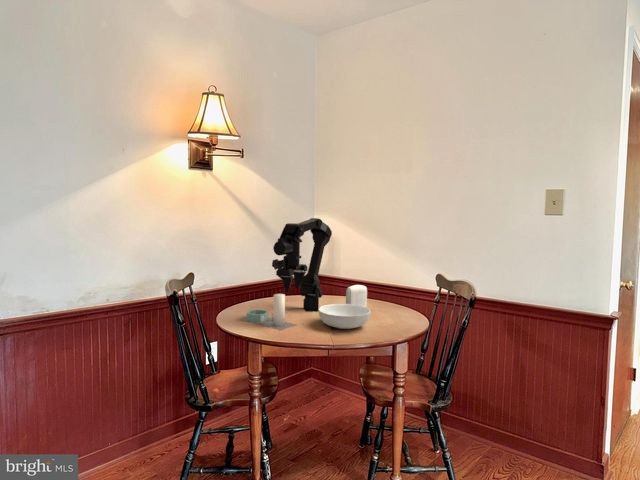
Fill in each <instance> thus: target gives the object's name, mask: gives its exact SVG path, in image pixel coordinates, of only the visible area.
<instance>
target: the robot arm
mask: <svg viewBox="0 0 640 480" xmlns="http://www.w3.org/2000/svg"><path fill="white" fill-rule="evenodd" d="M308 231H310V233H311V234H312V237H311V239H312V241H313V249H312V253H311V257H310V262H309V264H308V265H307V264H305V263H304V264H303V263H300V259H302V255H301V253H300V251H301V250H300V248H301V247H300V246H301V243H303V239H301V237H303V236H304V235H305V233H306V232H308ZM332 232H333V231H332V230H331V227H330V226H329V225H327V224H326V223H325V222H323V220H322V219H320V218H319V217H311V218H309V219H307V220H304V221H301V222H298V223H293V222H292V223H290V222H289V223H286V224H285V225H284V227H283V230H282V231H281V233H280V236H279V238H277V241H276V242H275V243H274V245H273V247H272V249H273V252H274V254H275V255H277V256H283V257H282V258H283V259H280V260H279V259H278V258H276V259H273V260H272V262H271V266H272V268H274V270H275V271H276V272H275V276H277V277H278V278H280V280H282V283H283V287H284V289H285V293H289V291H290V289H291V286H292V283H293V279H294V288H295V289H300V295H301V296H302V297H304V298H303V305H302V306H303V309H304V311H305V312H319V311H318V309H319V308H320V306H319V303H320V302H319V301H320V300H319V299H321V298H322V297H323V295H324V294H323V290H322V288H321V287H320V286H321V285H320V284H321V282H320V278H319V273H320V270H321V269H320V267H321V263H322V259H323V255H324V250H325V248H326V246H327V245H328V243H330V240H331V237H332V235H333V233H332Z"/></svg>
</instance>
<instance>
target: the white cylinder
mask: <svg viewBox="0 0 640 480" xmlns="http://www.w3.org/2000/svg"><path fill="white" fill-rule="evenodd" d="M272 303H273V304H272V305H273V307H272V308H273V309H272V310H273V311H272V313H273V325H274V326H284V325H285V322H286V321H285V320H286V319H285V318H286V316H285V315H286V294H284V293H274V294H273V302H272Z"/></svg>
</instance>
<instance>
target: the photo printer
mask: <svg viewBox="0 0 640 480" xmlns="http://www.w3.org/2000/svg"><path fill="white" fill-rule="evenodd" d="M367 298H368V288H367V286H365V285H362V284H354V285H351V286H348V287H347V288H346V290H345V304H351V305H358V306H363V307H366V308H367V307H368V306H367V303H368V299H367Z"/></svg>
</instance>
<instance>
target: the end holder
mask: <svg viewBox="0 0 640 480" xmlns="http://www.w3.org/2000/svg"><path fill="white" fill-rule="evenodd" d="M261 316H264V321H267V320H268V317H269V311H268V310H265V309H250V310H248V311H246V317H247V320H248V321H250V322H249V323H251V322H261Z"/></svg>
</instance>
